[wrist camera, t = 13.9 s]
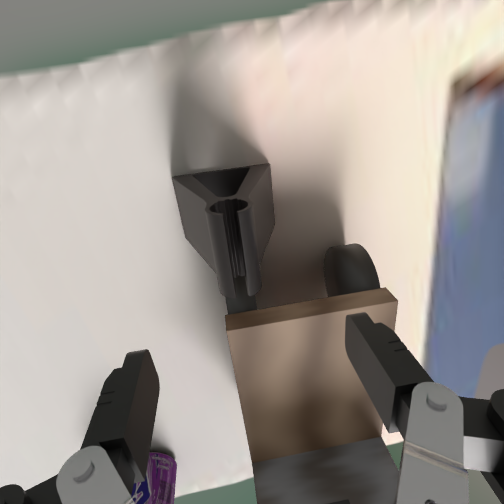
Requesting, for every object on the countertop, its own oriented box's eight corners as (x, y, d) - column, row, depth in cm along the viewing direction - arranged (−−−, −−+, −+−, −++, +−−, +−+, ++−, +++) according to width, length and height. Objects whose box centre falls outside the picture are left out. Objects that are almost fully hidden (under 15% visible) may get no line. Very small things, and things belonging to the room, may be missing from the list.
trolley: (348, 230, 33) (551, 423, 14) (343, 381, 44) (454, 610, 24) (217, 251, 32) (236, 489, 13) (245, 400, 43) (277, 654, 23)
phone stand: (185, 236, 31) (174, 309, 21) (172, 176, 28) (152, 224, 18) (274, 223, 32) (308, 287, 21) (269, 163, 29) (306, 202, 18)
